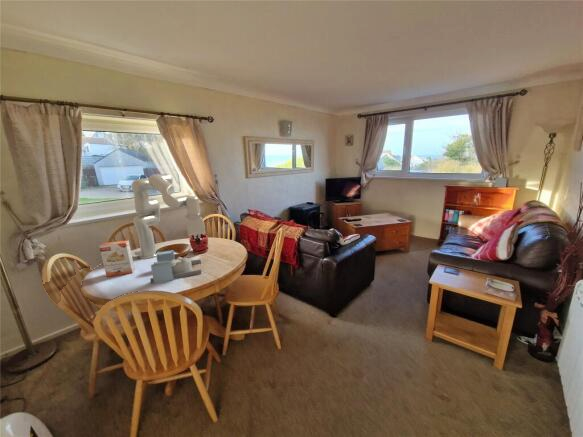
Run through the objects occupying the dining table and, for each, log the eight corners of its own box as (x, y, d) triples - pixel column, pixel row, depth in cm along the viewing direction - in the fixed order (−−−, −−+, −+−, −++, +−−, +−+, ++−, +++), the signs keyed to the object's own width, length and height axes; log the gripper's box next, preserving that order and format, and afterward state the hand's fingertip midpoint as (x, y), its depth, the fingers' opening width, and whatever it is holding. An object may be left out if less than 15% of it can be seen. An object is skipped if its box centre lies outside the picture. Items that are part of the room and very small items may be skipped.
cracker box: (106, 277, 145) (98, 246, 139) (110, 273, 150) (102, 242, 145) (132, 273, 149) (125, 242, 144) (135, 269, 154) (128, 239, 149)
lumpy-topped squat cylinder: (170, 270, 152) (168, 258, 150) (192, 266, 157) (190, 254, 155) (169, 277, 143) (167, 264, 141) (192, 273, 148) (190, 260, 146)
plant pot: (197, 247, 189) (195, 233, 186) (212, 248, 187) (210, 234, 183) (187, 254, 177) (185, 239, 174) (203, 255, 174) (201, 240, 171)
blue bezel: (154, 283, 136) (150, 265, 133) (159, 268, 155) (156, 252, 152) (173, 280, 140) (170, 262, 137) (175, 265, 158) (173, 250, 155)
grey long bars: (150, 283, 137) (150, 279, 136) (155, 270, 153) (154, 266, 152) (201, 273, 147) (201, 270, 146) (200, 262, 163) (200, 259, 162)
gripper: (181, 219, 140) (185, 247, 144) (207, 216, 145) (210, 243, 149) (181, 216, 146) (186, 243, 151) (206, 213, 152) (210, 240, 156)
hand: (198, 243), depth 150 cm, fingers closed
